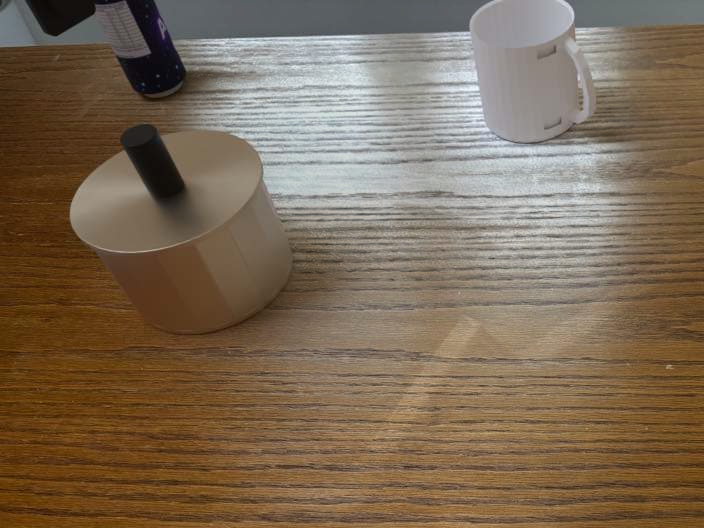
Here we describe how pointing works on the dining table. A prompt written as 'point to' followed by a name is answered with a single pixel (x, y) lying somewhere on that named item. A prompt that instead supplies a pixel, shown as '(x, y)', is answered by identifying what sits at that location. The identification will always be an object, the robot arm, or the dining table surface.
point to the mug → (530, 69)
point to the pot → (210, 274)
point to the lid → (165, 191)
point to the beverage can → (141, 45)
